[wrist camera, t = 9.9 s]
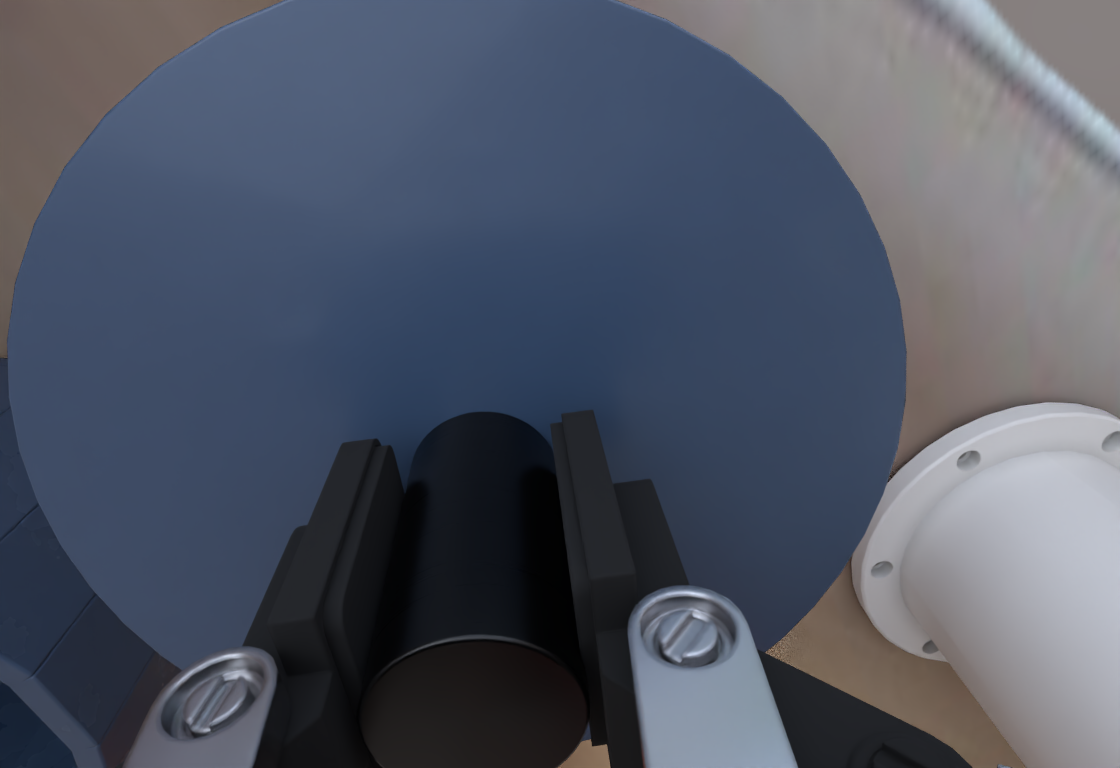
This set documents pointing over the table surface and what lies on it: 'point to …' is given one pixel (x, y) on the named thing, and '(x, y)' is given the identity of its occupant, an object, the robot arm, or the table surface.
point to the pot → (60, 641)
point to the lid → (453, 338)
